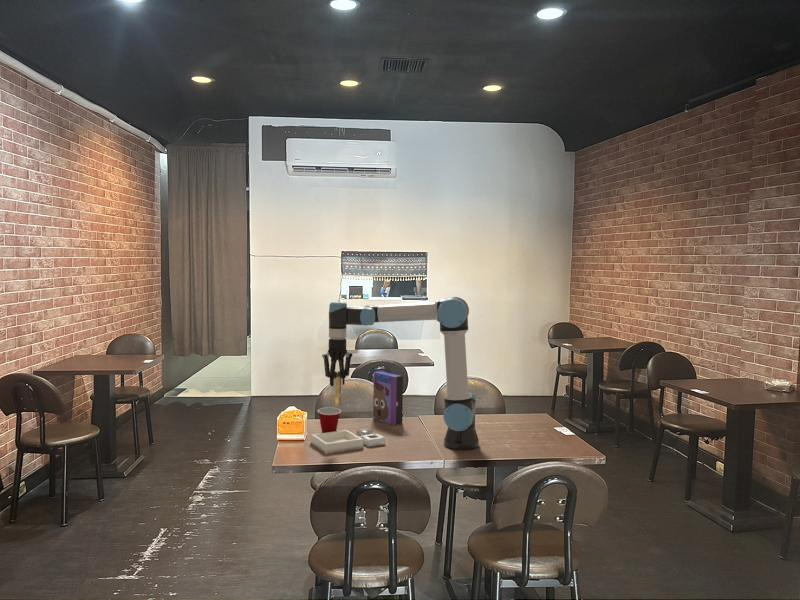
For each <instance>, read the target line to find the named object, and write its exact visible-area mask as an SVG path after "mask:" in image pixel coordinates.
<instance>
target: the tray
mask: <svg viewBox="0 0 800 600" xmlns="http://www.w3.org/2000/svg"><path fill="white" fill-rule="evenodd" d="M363 441H364V439H362V438H361V436H358V435H356V434H355V433H353V432H351V431H349V430H348V429H343V430H336V431H334V432H327V433H322V432H320V433H319V432H318V433H313V434H310V445H312V446H313V447H315V448H317V449H318V450H319V451H321V452H323V453H324V454H325V455H327V454H328V453H329V454H335V453H341V452H348V451H349V452H350V451H353V450H354V451H355V450H362V449H364V444H363ZM334 452H335V453H334Z"/></svg>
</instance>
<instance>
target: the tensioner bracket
mask: <svg viewBox="0 0 800 600" xmlns="http://www.w3.org/2000/svg"><path fill="white" fill-rule="evenodd" d="M355 433H356V434H355V435H357V436H359V437H361V438H362V439H364V441H363V446H364V445H365V446H366V447H368V448H370V447H377V446H384V445H386V437H385V436H383V435H381V434H378V433H373V430H372V429H369V428H360V429H357V430H356V431H355Z"/></svg>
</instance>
